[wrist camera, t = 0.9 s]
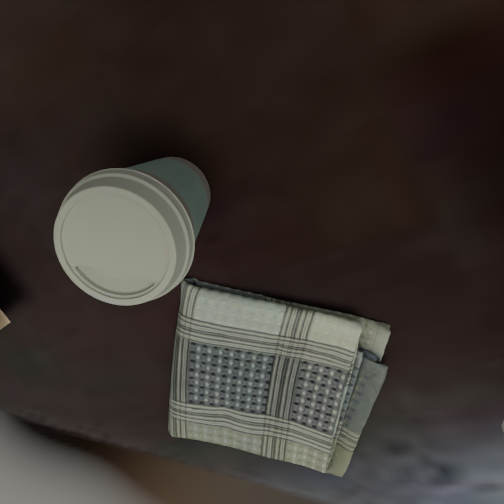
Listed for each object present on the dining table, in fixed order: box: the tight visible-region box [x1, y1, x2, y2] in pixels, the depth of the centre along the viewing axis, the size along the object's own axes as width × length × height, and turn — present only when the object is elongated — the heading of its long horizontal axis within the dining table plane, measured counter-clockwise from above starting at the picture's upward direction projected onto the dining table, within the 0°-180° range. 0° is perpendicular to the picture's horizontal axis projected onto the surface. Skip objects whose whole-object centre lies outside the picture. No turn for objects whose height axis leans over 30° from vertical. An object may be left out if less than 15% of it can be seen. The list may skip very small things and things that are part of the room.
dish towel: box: [168, 278, 390, 477], centre depth 43 cm, size 19×18×3 cm
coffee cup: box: [54, 157, 210, 305], centre depth 33 cm, size 8×9×12 cm
